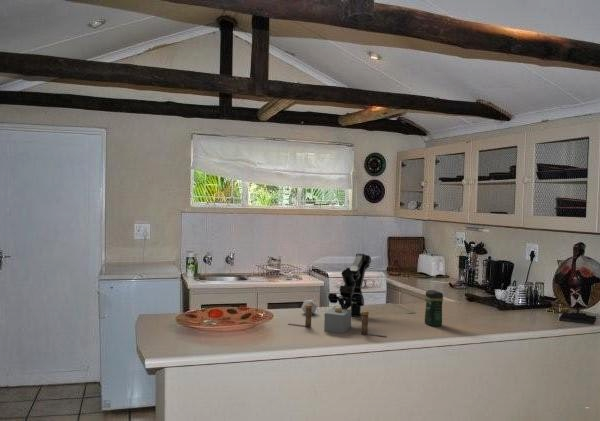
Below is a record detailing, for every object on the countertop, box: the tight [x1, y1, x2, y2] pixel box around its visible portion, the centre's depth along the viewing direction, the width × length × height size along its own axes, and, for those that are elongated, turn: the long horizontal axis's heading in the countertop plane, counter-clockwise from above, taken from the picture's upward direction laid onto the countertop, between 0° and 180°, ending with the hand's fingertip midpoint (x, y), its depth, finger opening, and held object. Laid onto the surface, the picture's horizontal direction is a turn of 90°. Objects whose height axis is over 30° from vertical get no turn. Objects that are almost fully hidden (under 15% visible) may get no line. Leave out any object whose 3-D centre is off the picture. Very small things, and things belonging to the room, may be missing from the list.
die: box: [301, 299, 318, 315], centre depth 290 cm, size 8×9×10 cm
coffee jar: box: [424, 289, 444, 327], centre depth 273 cm, size 10×8×19 cm
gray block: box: [323, 306, 352, 334], centre depth 258 cm, size 14×10×11 cm
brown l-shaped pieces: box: [287, 305, 387, 338], centre depth 255 cm, size 3×52×11 cm, turn 68°
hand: (342, 312), depth 265 cm, fingers closed, pressing on gray block
